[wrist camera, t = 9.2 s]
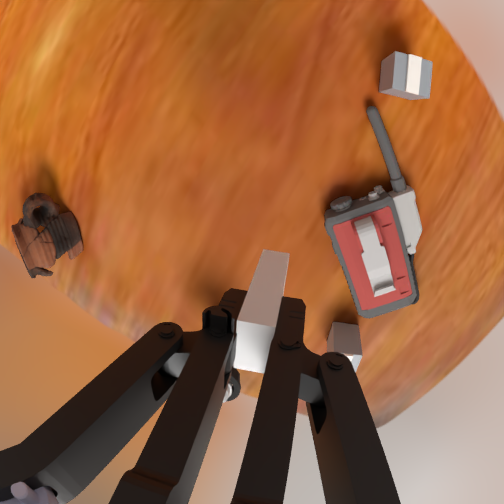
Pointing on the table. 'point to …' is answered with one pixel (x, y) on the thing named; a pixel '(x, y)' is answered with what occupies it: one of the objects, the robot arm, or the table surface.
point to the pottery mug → (45, 234)
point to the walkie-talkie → (378, 238)
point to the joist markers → (405, 86)
